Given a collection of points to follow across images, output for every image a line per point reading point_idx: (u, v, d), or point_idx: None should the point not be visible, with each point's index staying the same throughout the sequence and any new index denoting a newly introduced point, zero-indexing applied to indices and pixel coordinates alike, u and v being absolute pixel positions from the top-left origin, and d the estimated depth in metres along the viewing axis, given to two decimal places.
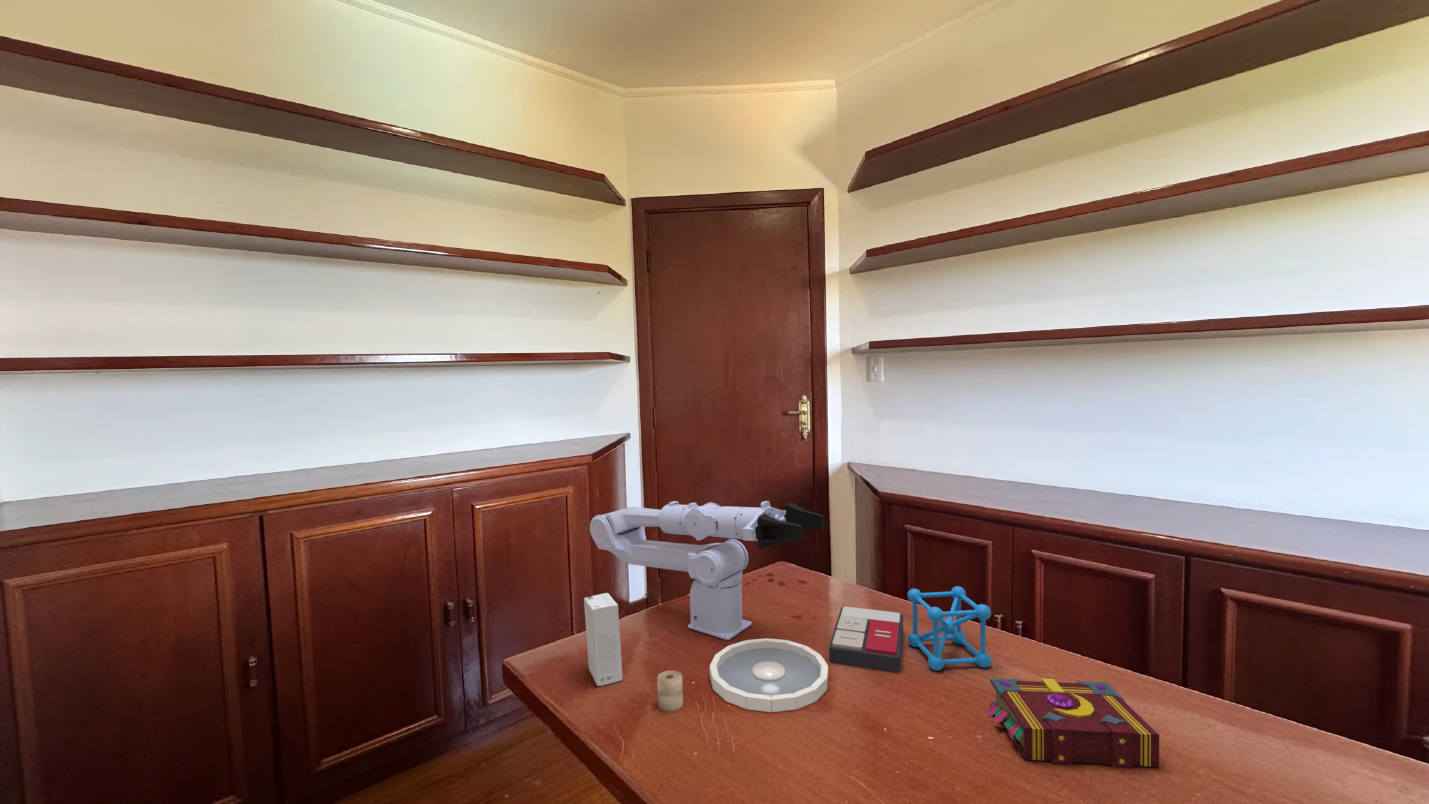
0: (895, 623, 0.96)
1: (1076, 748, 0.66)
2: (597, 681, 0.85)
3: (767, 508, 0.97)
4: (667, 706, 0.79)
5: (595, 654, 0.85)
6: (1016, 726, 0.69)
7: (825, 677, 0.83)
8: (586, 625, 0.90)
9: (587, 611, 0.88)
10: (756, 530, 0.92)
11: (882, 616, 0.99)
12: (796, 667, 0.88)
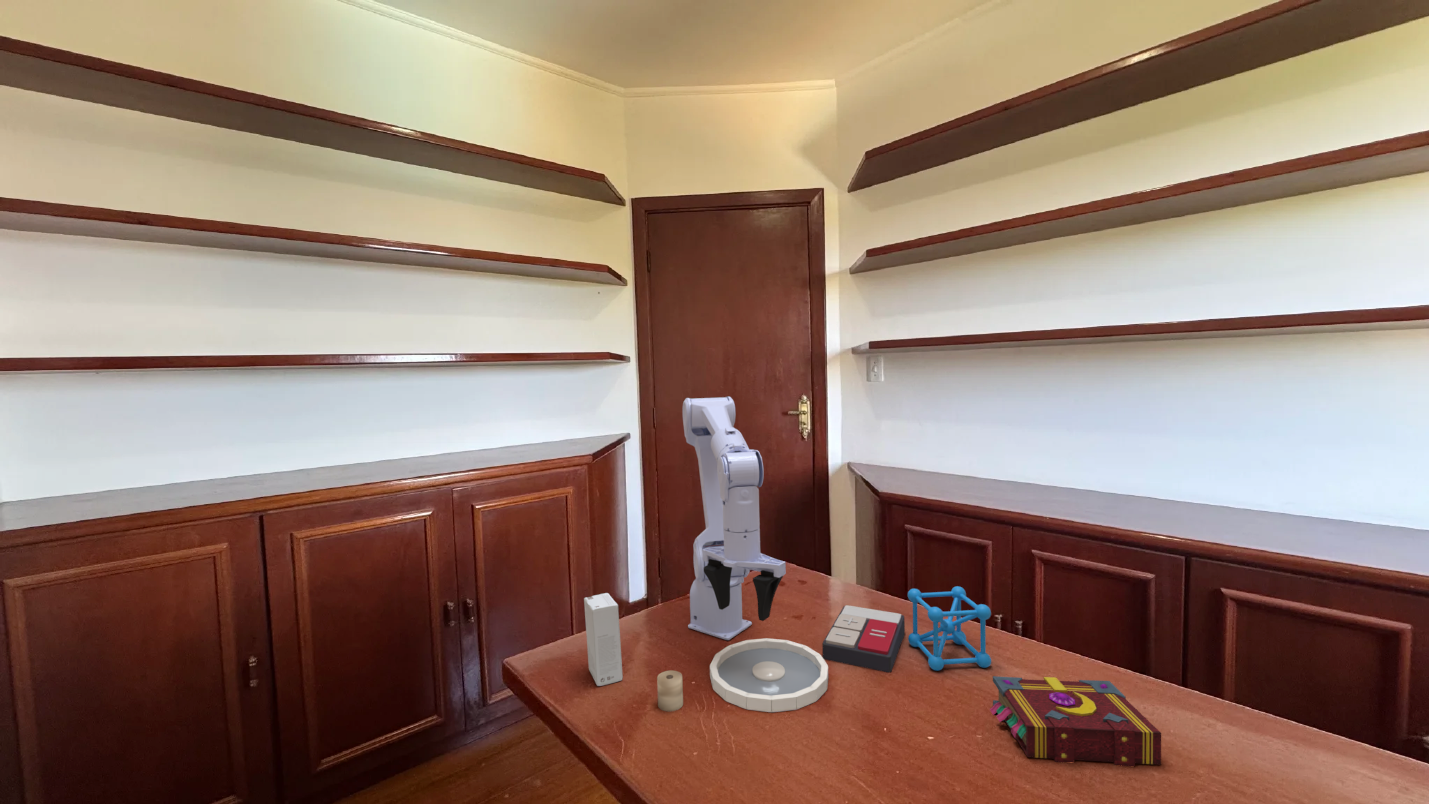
0: (893, 624, 0.96)
1: (1078, 745, 0.66)
2: (597, 681, 0.85)
3: None
4: (667, 706, 0.79)
5: (595, 654, 0.85)
6: (1019, 724, 0.70)
7: (825, 677, 0.83)
8: (586, 625, 0.89)
9: (587, 611, 0.88)
10: None
11: (882, 616, 0.99)
12: (796, 667, 0.88)
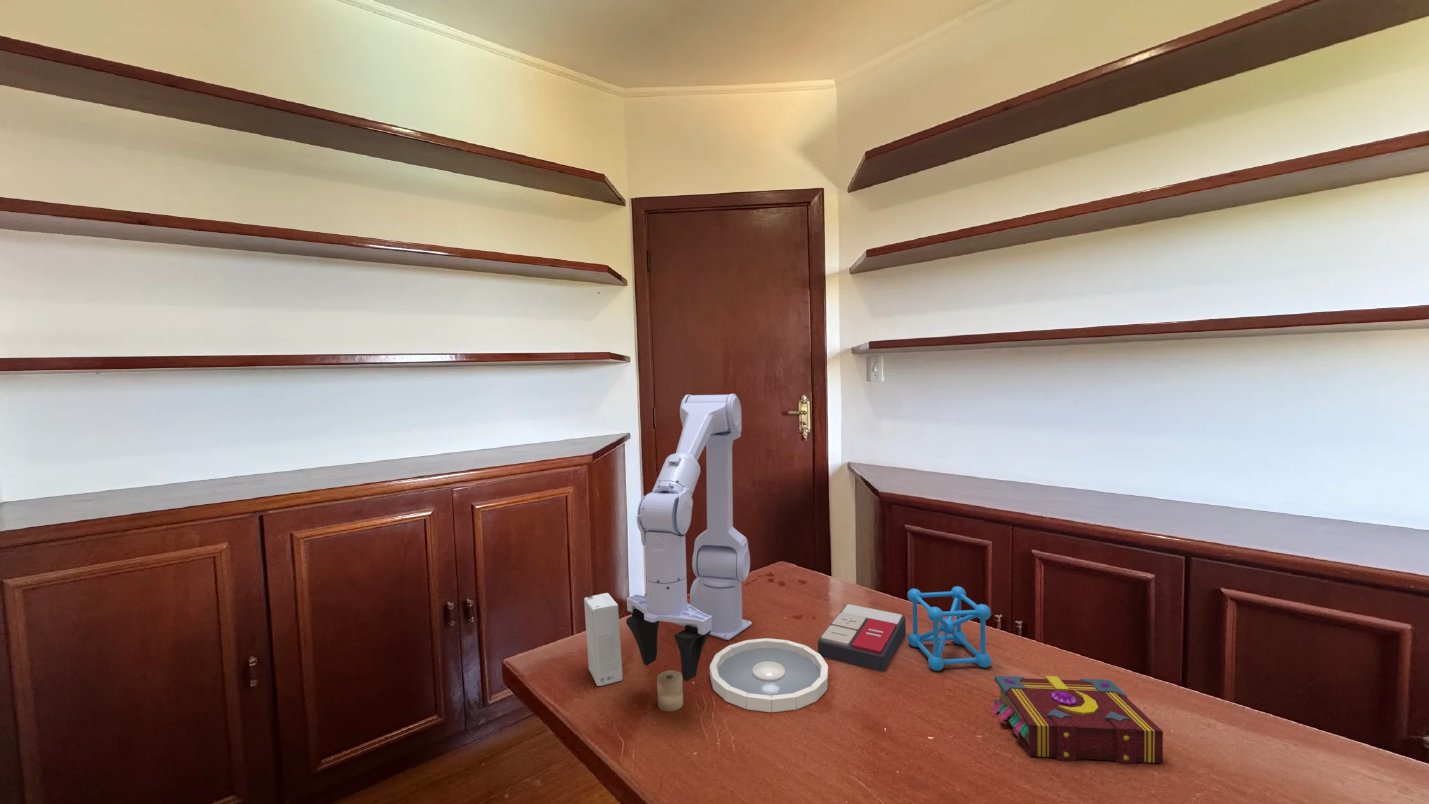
0: (892, 624, 0.96)
1: (1081, 744, 0.67)
2: (597, 681, 0.85)
3: None
4: (667, 706, 0.79)
5: (595, 654, 0.85)
6: (1021, 723, 0.70)
7: (825, 677, 0.83)
8: (586, 625, 0.90)
9: (587, 611, 0.88)
10: None
11: (882, 616, 0.99)
12: (796, 667, 0.88)
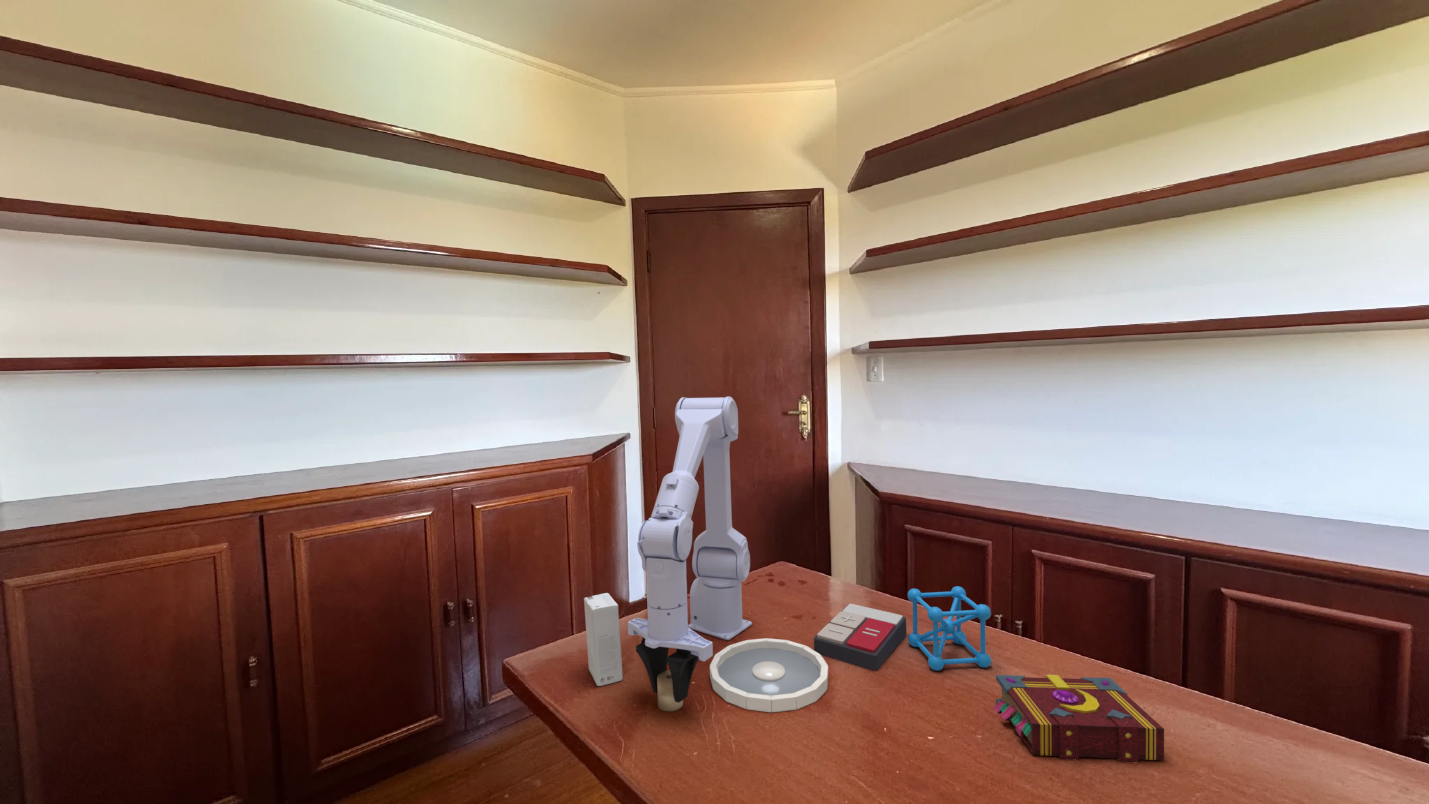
0: (890, 624, 0.96)
1: (1083, 742, 0.67)
2: (597, 681, 0.85)
3: None
4: (667, 706, 0.79)
5: (595, 654, 0.85)
6: (1023, 722, 0.70)
7: (825, 677, 0.83)
8: (586, 625, 0.90)
9: (587, 611, 0.88)
10: None
11: (882, 616, 0.99)
12: (796, 667, 0.88)
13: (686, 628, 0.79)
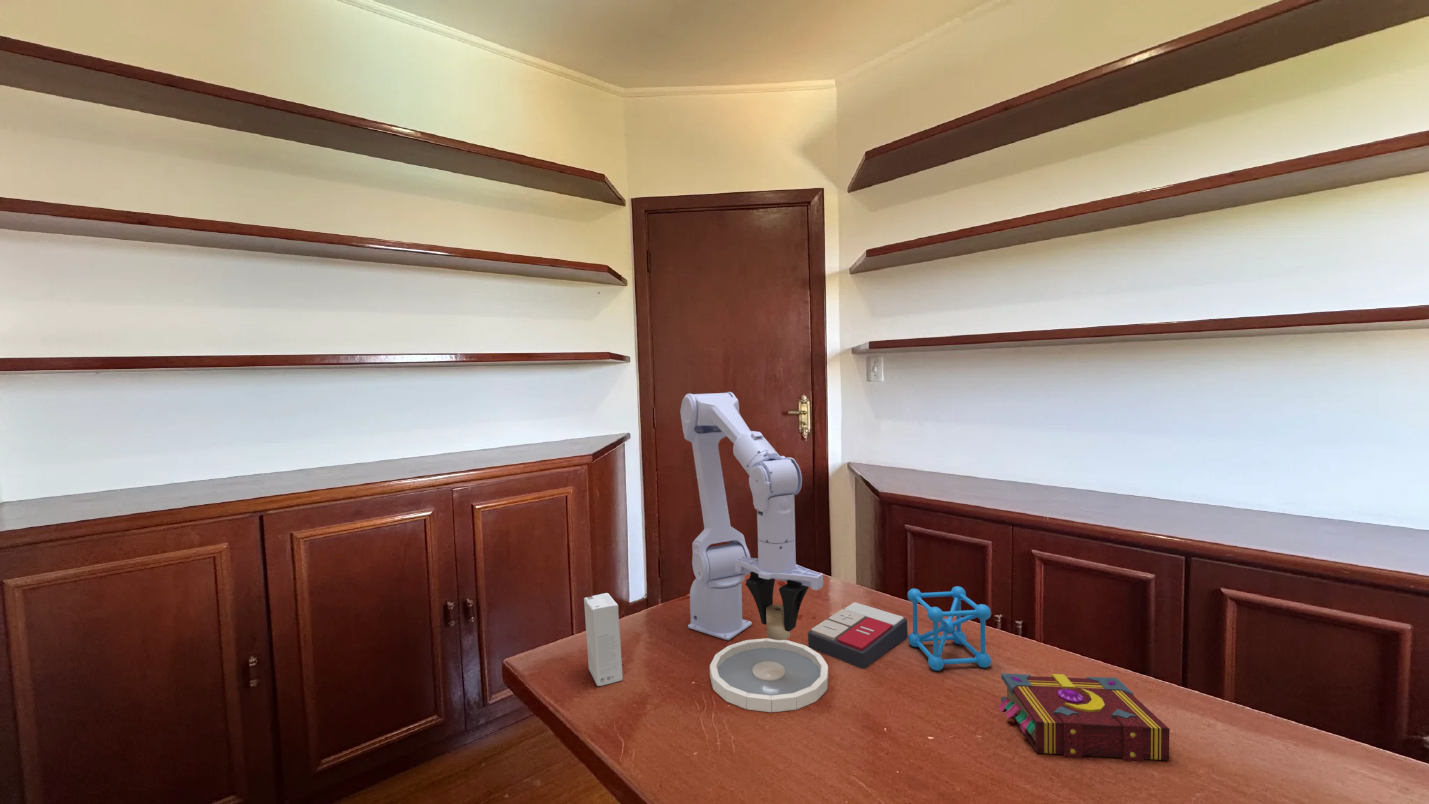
0: (887, 624, 0.96)
1: (1087, 741, 0.67)
2: (597, 681, 0.85)
3: None
4: (777, 635, 0.84)
5: (595, 654, 0.85)
6: (1028, 720, 0.71)
7: (825, 677, 0.83)
8: (586, 625, 0.90)
9: (587, 611, 0.88)
10: None
11: (882, 616, 0.99)
12: (796, 667, 0.88)
13: (795, 562, 0.85)
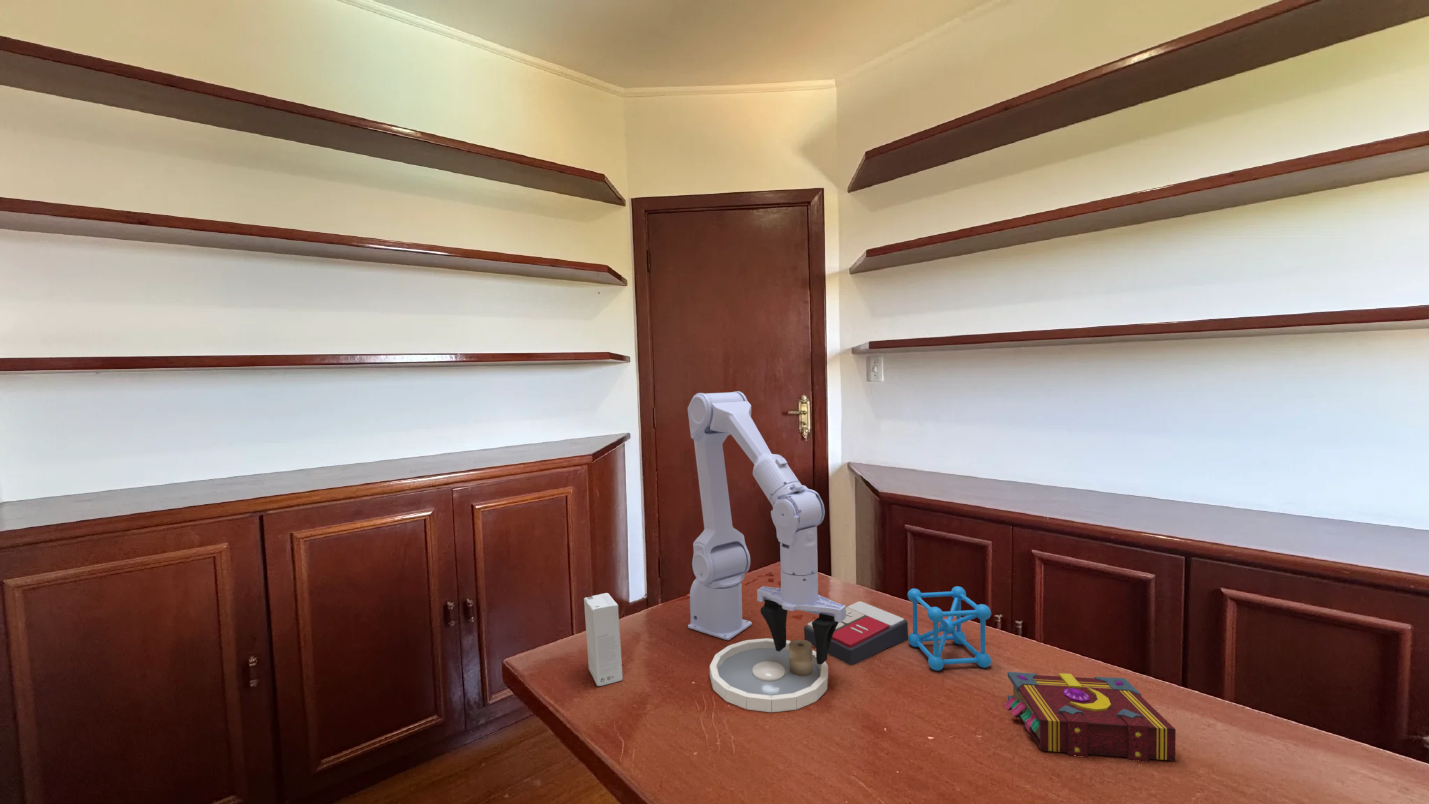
0: (884, 624, 0.96)
1: (1092, 740, 0.67)
2: (597, 681, 0.85)
3: None
4: (801, 671, 0.86)
5: (595, 654, 0.85)
6: (1032, 718, 0.71)
7: (825, 677, 0.83)
8: (586, 625, 0.90)
9: (587, 611, 0.88)
10: None
11: (882, 617, 0.99)
12: None
13: (817, 594, 0.86)
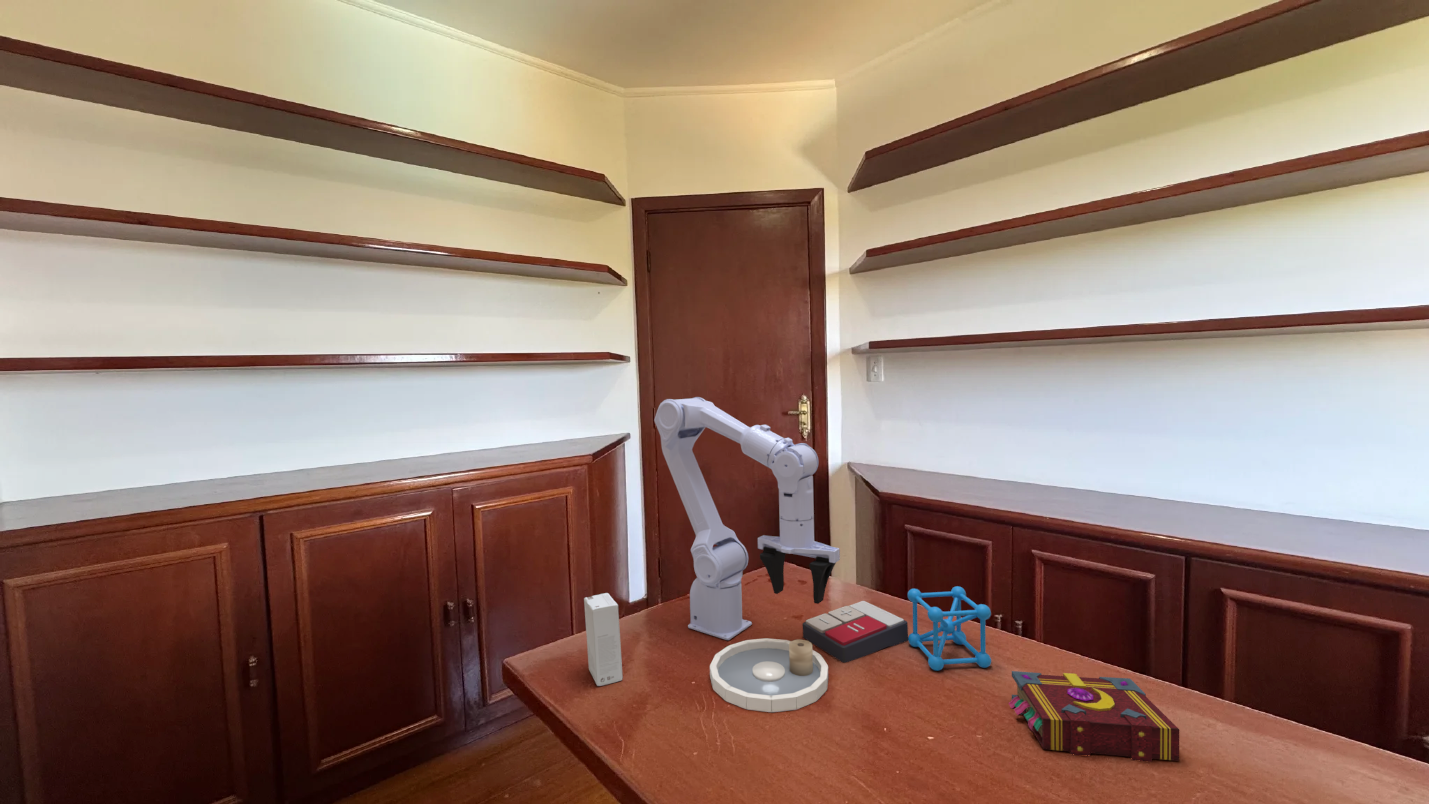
0: (882, 624, 0.96)
1: (1095, 739, 0.67)
2: (597, 681, 0.85)
3: None
4: (801, 671, 0.86)
5: (595, 654, 0.85)
6: (1035, 717, 0.71)
7: (825, 677, 0.83)
8: (586, 625, 0.90)
9: (587, 611, 0.88)
10: None
11: (882, 617, 0.99)
12: None
13: (813, 539, 0.93)
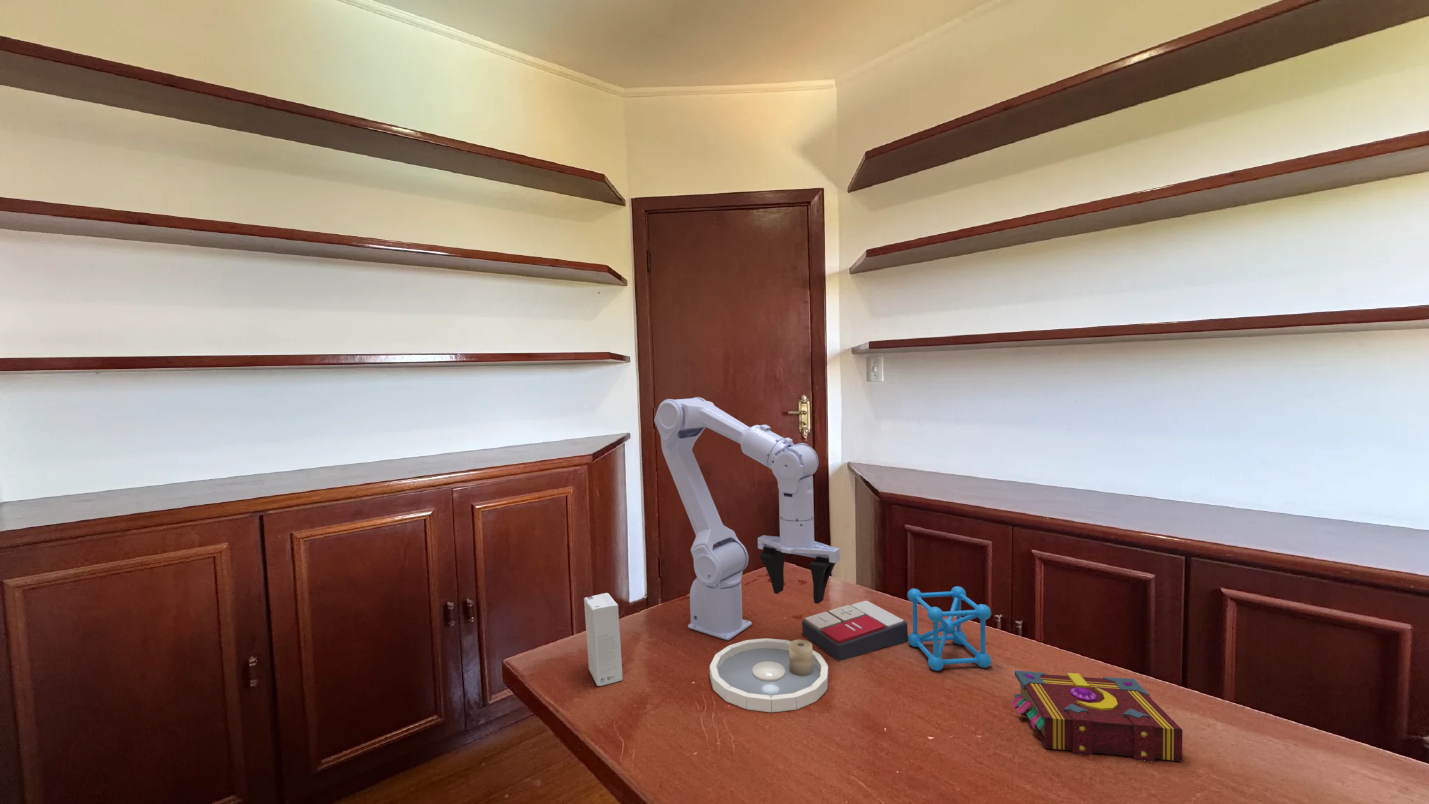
0: (880, 624, 0.96)
1: (1097, 739, 0.67)
2: (597, 681, 0.85)
3: None
4: (801, 671, 0.86)
5: (595, 654, 0.85)
6: (1038, 716, 0.71)
7: (825, 677, 0.83)
8: (586, 625, 0.90)
9: (587, 611, 0.88)
10: None
11: (882, 617, 0.99)
12: None
13: (813, 539, 0.93)
